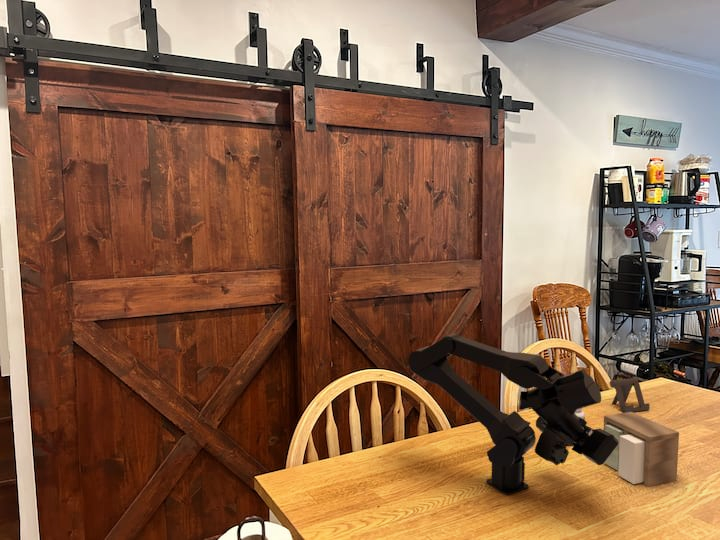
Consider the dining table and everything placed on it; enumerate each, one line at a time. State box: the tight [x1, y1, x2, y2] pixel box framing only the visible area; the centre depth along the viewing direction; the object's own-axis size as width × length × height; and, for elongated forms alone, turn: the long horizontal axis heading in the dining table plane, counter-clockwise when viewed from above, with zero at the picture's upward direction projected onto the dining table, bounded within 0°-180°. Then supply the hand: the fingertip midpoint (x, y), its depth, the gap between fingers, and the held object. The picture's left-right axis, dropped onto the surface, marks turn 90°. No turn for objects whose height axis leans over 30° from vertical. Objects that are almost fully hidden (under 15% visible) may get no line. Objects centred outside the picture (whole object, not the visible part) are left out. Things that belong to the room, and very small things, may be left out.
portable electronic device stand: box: [609, 377, 650, 413], centre depth 159 cm, size 9×8×8 cm
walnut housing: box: [603, 412, 680, 487], centre depth 119 cm, size 9×13×11 cm
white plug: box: [617, 434, 646, 485], centre depth 116 cm, size 12×4×9 cm, turn 108°
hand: (595, 455), depth 112 cm, fingers closed
